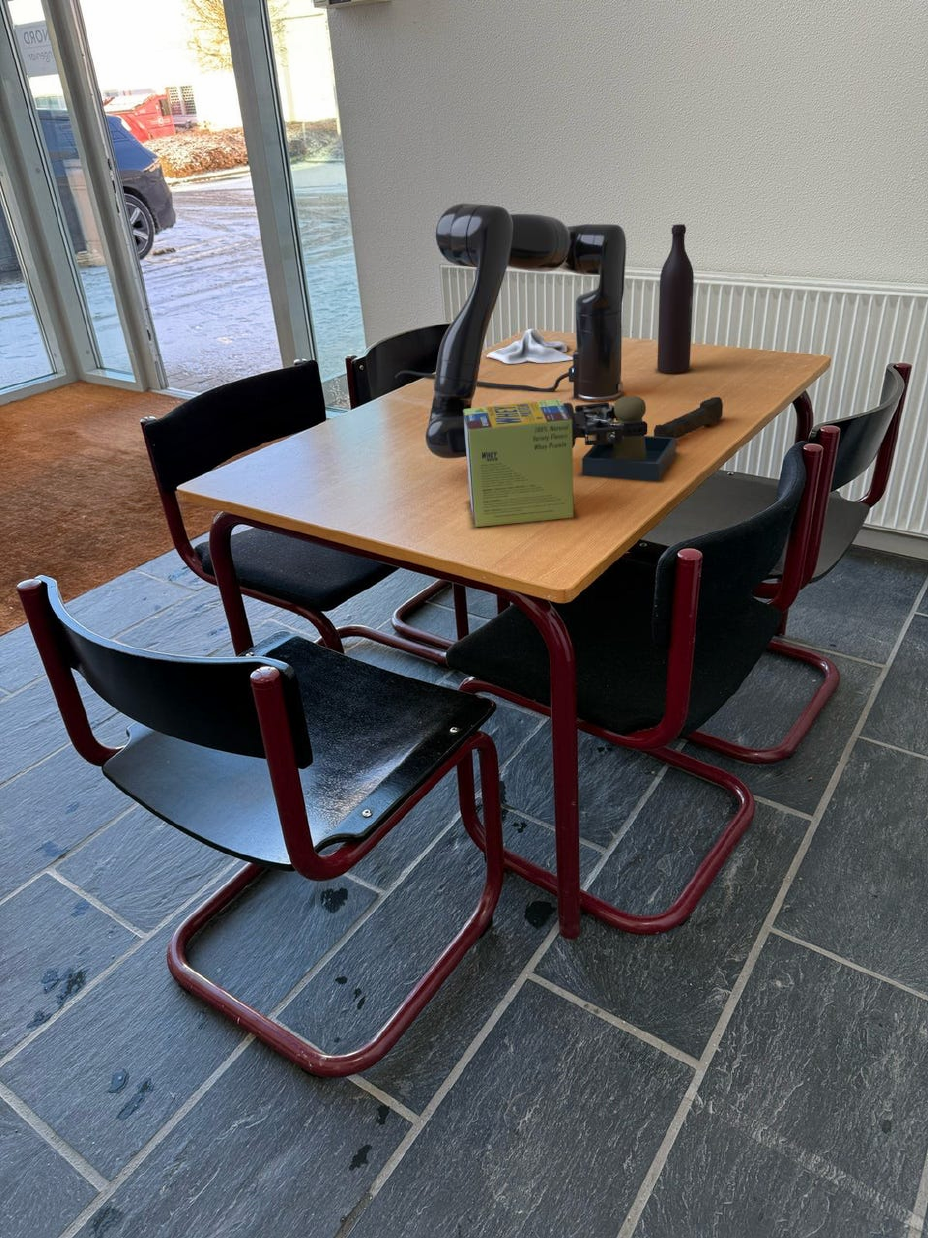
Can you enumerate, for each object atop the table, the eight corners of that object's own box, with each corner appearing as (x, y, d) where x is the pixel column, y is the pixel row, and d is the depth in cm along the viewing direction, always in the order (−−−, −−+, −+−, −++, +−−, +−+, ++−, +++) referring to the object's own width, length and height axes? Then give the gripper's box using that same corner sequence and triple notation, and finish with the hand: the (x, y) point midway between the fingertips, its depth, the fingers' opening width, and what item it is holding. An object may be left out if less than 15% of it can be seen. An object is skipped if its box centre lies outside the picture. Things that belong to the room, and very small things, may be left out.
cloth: (479, 363, 220) (477, 337, 217) (506, 344, 235) (505, 319, 232) (566, 366, 212) (566, 339, 209) (589, 346, 226) (589, 321, 223)
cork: (638, 469, 151) (640, 404, 146) (605, 465, 154) (605, 401, 149) (652, 457, 155) (654, 394, 150) (619, 453, 158) (620, 391, 153)
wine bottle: (692, 373, 199) (699, 225, 184) (660, 375, 200) (664, 228, 185) (686, 364, 205) (692, 221, 190) (654, 366, 206) (658, 224, 191)
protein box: (575, 518, 138) (573, 418, 130) (474, 528, 137) (466, 429, 129) (563, 492, 147) (561, 397, 139) (468, 501, 146) (461, 407, 138)
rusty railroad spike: (670, 449, 160) (671, 423, 158) (652, 444, 163) (653, 419, 160) (733, 421, 170) (735, 397, 168) (716, 417, 173) (717, 393, 171)
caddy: (582, 475, 152) (582, 458, 151) (603, 449, 163) (603, 432, 161) (658, 481, 148) (659, 464, 146) (675, 454, 158) (676, 437, 156)
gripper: (548, 419, 143) (651, 410, 143) (540, 393, 156) (634, 385, 155) (550, 464, 147) (650, 455, 147) (541, 435, 160) (633, 427, 159)
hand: (642, 419), depth 151 cm, fingers open, 8 cm apart
